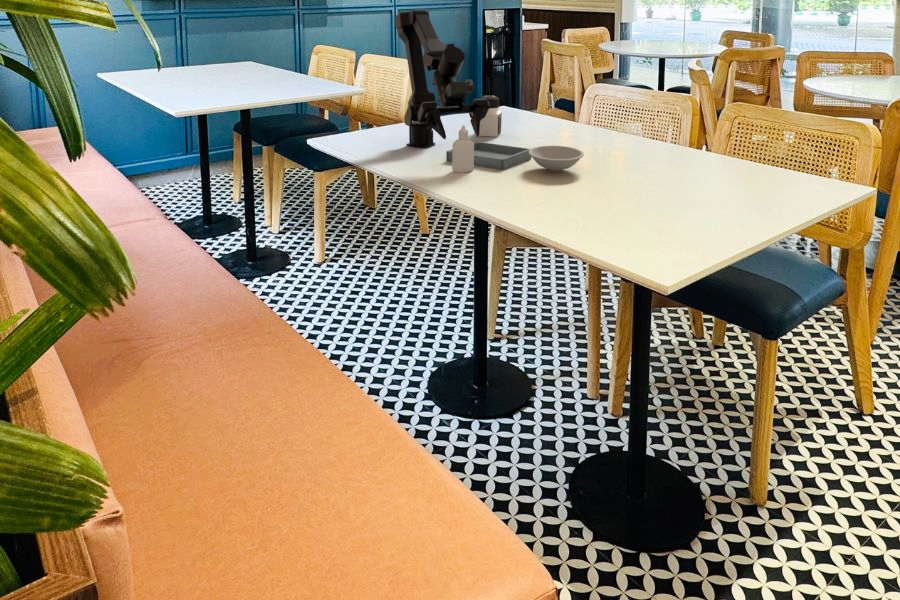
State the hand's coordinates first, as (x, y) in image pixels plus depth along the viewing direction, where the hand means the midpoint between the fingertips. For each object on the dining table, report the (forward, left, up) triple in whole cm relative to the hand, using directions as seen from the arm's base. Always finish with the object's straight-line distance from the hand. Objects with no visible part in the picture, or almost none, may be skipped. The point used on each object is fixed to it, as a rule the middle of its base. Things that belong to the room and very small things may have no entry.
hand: (461, 137), depth 216 cm
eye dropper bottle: (+1, -1, -9) cm, 9 cm away
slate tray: (0, +14, -9) cm, 17 cm away
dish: (+21, +13, -9) cm, 26 cm away
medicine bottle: (-19, +45, -9) cm, 50 cm away
